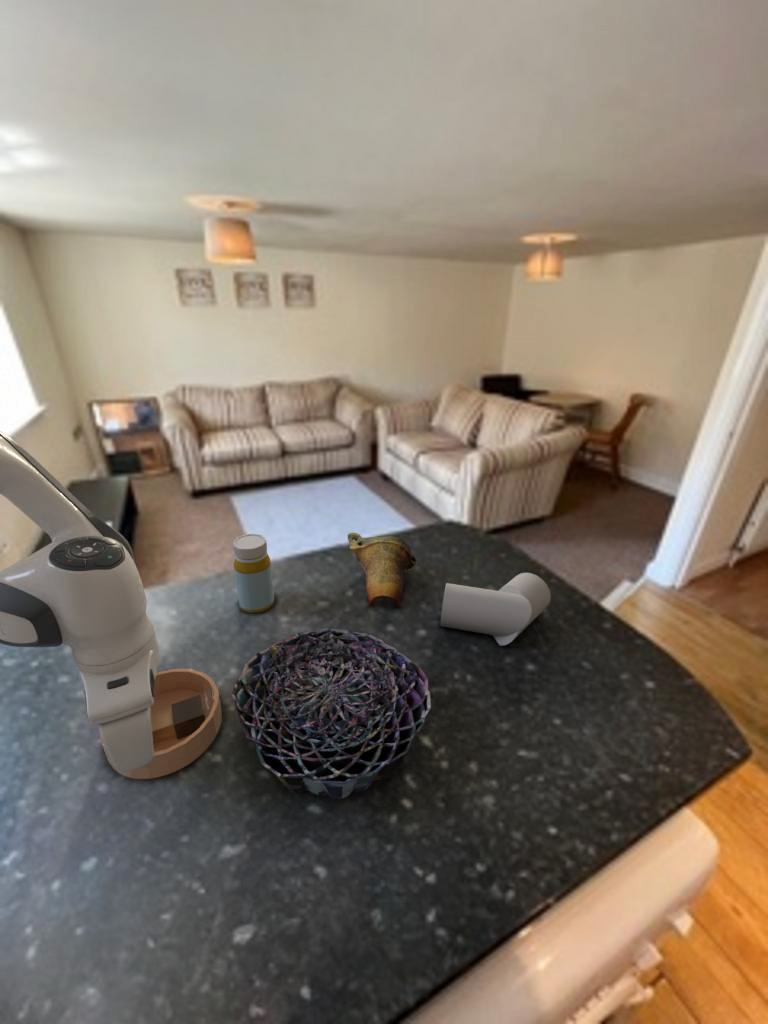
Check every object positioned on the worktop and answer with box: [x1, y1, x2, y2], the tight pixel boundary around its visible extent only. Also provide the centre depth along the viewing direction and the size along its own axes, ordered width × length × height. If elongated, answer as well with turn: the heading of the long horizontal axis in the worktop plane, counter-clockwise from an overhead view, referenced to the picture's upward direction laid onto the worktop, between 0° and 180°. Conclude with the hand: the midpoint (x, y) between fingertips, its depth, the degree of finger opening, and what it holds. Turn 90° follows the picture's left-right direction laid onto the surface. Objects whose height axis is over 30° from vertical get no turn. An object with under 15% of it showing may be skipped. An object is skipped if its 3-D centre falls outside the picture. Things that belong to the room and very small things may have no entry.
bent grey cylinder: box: [440, 572, 552, 646], centre depth 87 cm, size 18×11×20 cm
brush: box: [151, 695, 205, 744], centre depth 64 cm, size 10×4×3 cm, turn 118°
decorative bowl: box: [231, 627, 432, 800], centre depth 64 cm, size 26×28×10 cm
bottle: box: [232, 533, 275, 614], centre depth 89 cm, size 7×7×15 cm
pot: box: [347, 532, 418, 608], centre depth 98 cm, size 17×11×18 cm
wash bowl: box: [98, 668, 223, 780], centre depth 64 cm, size 15×15×4 cm
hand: (142, 732), depth 63 cm, fingers closed on brush, 2 cm apart
